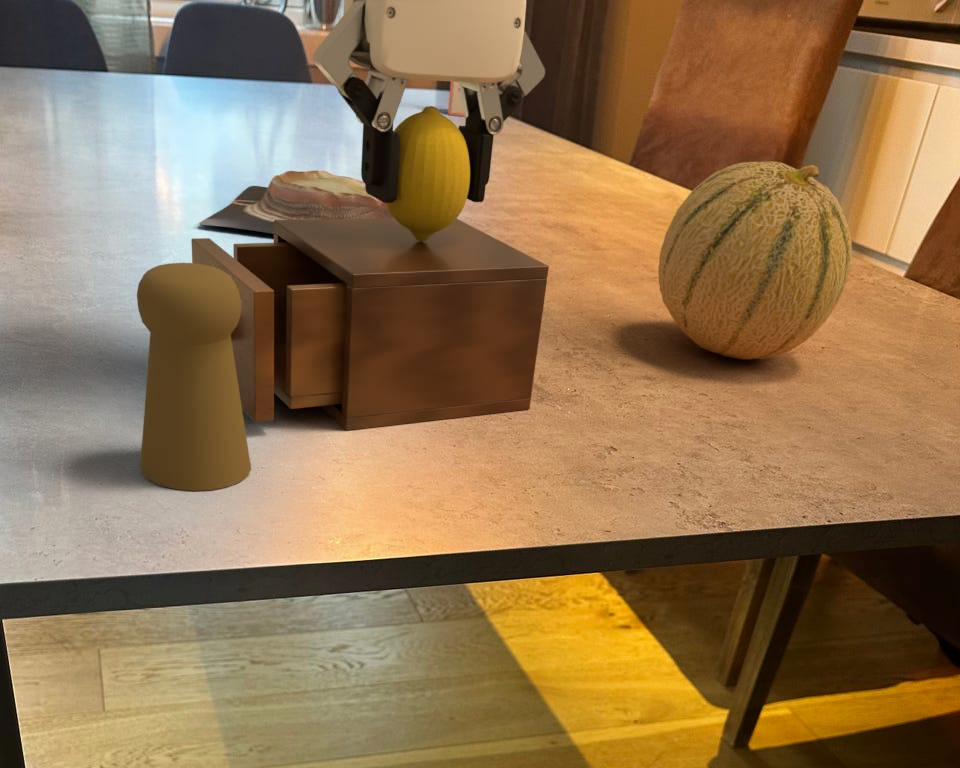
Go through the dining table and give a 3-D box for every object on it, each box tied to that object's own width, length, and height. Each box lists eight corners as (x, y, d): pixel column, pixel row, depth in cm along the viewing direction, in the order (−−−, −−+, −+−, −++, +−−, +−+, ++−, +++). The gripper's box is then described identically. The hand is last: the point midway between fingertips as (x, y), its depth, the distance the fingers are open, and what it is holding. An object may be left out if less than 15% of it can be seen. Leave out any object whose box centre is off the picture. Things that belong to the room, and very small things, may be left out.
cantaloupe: (665, 313, 97) (701, 131, 89) (830, 348, 93) (883, 161, 85) (622, 358, 85) (659, 152, 77) (809, 400, 82) (869, 189, 73)
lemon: (361, 234, 70) (367, 98, 66) (427, 228, 74) (437, 98, 69) (414, 256, 67) (425, 114, 63) (481, 249, 70) (495, 114, 66)
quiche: (196, 228, 104) (194, 184, 102) (251, 189, 121) (250, 150, 119) (410, 256, 104) (413, 213, 102) (435, 213, 121) (438, 175, 119)
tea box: (448, 111, 188) (453, 46, 183) (486, 116, 189) (493, 51, 183) (448, 114, 185) (453, 48, 180) (487, 119, 186) (494, 53, 180)
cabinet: (346, 430, 68) (352, 274, 62) (273, 361, 76) (273, 219, 71) (529, 409, 74) (549, 265, 69) (442, 348, 83) (454, 216, 77)
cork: (121, 480, 59) (104, 273, 53) (166, 438, 64) (155, 246, 58) (229, 498, 58) (224, 292, 52) (265, 454, 63) (264, 262, 57)
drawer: (235, 424, 64) (233, 292, 60) (177, 359, 72) (172, 238, 68) (439, 403, 71) (449, 282, 66) (365, 345, 79) (370, 234, 74)
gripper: (545, -133, 66) (509, 184, 75) (276, -177, 58) (274, 184, 67) (617, -130, 60) (568, 210, 70) (332, -178, 52) (322, 214, 62)
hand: (424, 194), depth 69 cm, fingers closed on lemon, 5 cm apart
